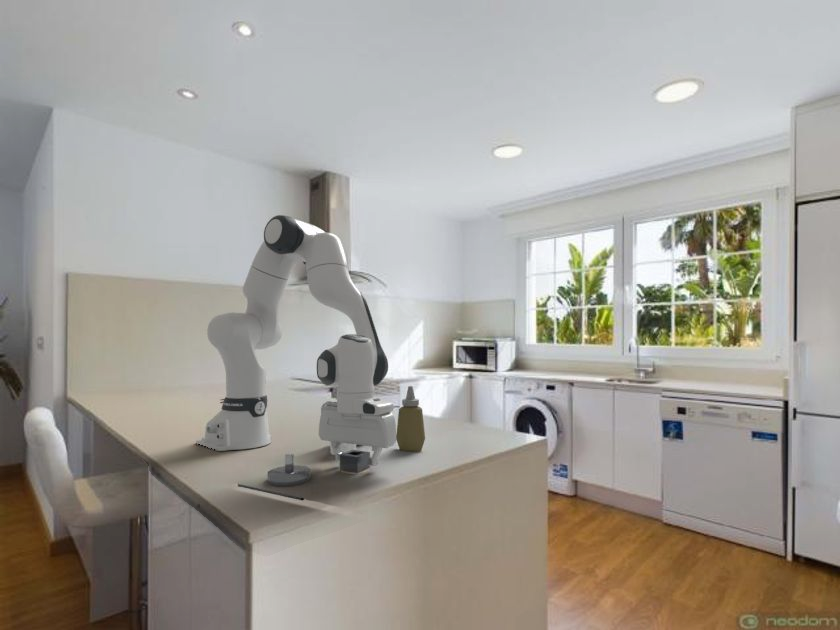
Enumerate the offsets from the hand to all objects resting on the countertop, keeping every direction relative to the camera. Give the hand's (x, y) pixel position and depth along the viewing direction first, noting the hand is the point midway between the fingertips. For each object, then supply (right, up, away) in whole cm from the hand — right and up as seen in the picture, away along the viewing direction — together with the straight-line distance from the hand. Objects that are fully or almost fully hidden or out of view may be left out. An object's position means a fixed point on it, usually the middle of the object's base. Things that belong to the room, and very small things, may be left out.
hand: (356, 462), depth 106 cm
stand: (0, -2, 0) cm, 2 cm away
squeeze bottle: (+12, -3, +19) cm, 23 cm away
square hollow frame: (0, -1, 0) cm, 1 cm away
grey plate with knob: (-13, -2, -8) cm, 16 cm away
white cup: (-6, -3, +15) cm, 17 cm away
